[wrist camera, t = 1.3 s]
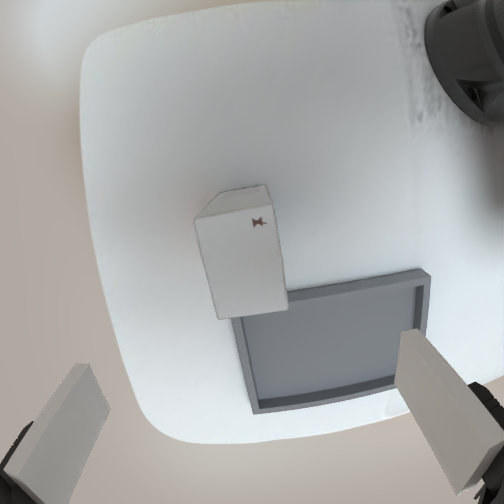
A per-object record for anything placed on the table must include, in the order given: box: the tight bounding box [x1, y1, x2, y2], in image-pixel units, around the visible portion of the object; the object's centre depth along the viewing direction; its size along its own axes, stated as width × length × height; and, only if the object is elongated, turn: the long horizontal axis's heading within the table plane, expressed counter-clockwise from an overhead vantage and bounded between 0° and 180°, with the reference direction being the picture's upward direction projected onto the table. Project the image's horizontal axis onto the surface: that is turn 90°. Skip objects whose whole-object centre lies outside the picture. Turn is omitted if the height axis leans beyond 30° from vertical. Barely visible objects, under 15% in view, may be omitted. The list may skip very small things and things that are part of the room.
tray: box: [231, 269, 431, 414], centre depth 30 cm, size 20×14×2 cm
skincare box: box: [194, 185, 289, 319], centre depth 22 cm, size 6×4×12 cm
